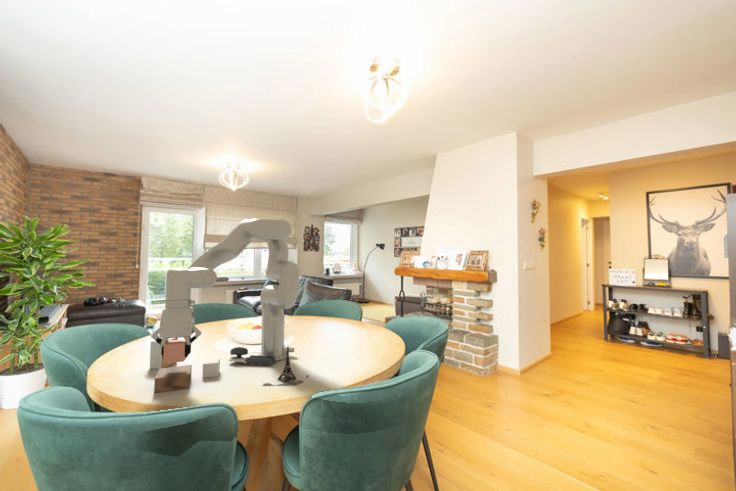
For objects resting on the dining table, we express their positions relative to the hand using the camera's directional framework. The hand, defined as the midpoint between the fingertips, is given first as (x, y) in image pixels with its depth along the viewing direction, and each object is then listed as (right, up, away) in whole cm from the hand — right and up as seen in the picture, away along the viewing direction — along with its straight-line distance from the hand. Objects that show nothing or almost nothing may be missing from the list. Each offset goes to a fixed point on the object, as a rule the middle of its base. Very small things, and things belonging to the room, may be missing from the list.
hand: (176, 356), depth 111 cm
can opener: (+18, -11, +22) cm, 31 cm away
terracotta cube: (0, -1, 0) cm, 1 cm away
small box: (-16, -10, +18) cm, 26 cm away
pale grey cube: (+8, -10, +9) cm, 16 cm away
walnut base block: (0, -10, -1) cm, 10 cm away
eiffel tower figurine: (+37, -11, +5) cm, 39 cm away
